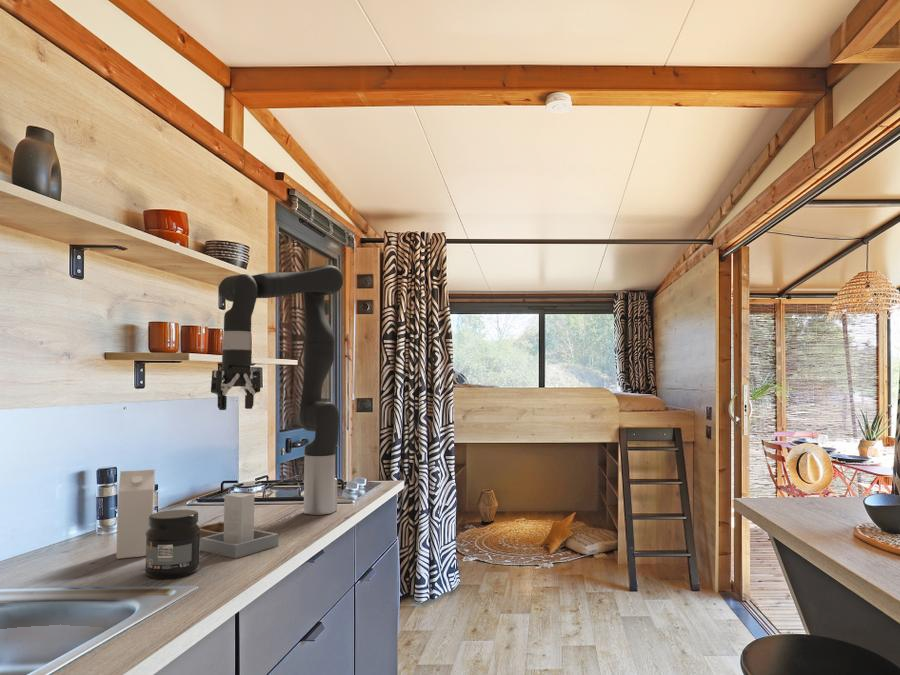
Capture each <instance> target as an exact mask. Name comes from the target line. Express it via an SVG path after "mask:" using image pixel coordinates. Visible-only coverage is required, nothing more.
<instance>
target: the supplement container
mask: <svg viewBox="0 0 900 675" xmlns="http://www.w3.org/2000/svg"><path fill="white" fill-rule="evenodd" d="M198 522H199V512H198V511H197V510H193V509H169V510H168V509H167V510H162V511H158V512H157V511H156V512H154V514H152V515H150V516H149V526H150V528H149V529H148V531H147V532H146V556H145V565H144V566H145V567H144V573H145V575H147V576H148V577H150V578H153V579H157V580H159V579H160V580H166V579H167V580H168V579H177V578H178V579H179V578H181V577H184V576H189V575H192V574H193V573H195V572H196V571H197V570H198V569H199V567H200V562H201V561H200V532H201V528H200V526H201V525H199V524H198Z"/></svg>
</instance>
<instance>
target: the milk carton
mask: <svg viewBox="0 0 900 675" xmlns="http://www.w3.org/2000/svg"><path fill="white" fill-rule="evenodd" d="M119 473H120V475H119V484H118V492H117V493H118V494H117V496H118V497H117V499H118V500H117V523H116V524H117V528H116V551H115V553H116V555H115V556H116V559H120V560H121V559H128V558H129V559H130V558H139V557H146V532H147V531H148V529H149V528H150V526H149V516H150V515H152V514H154V513H155V512H154V511H155V469H142V470H141V469H140V470H138V469H137V470H121V471H120V472H119Z"/></svg>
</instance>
